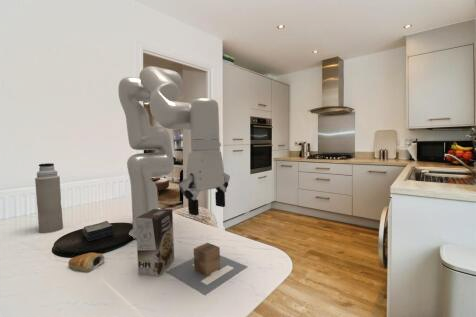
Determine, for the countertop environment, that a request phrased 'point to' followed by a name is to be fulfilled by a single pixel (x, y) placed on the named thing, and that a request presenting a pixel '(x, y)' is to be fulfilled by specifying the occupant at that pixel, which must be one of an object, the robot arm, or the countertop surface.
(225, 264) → the letter tile
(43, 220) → the thermos bottle
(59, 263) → the countertop surface
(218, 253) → the walnut block
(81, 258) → the pastry
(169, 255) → the coffee box
